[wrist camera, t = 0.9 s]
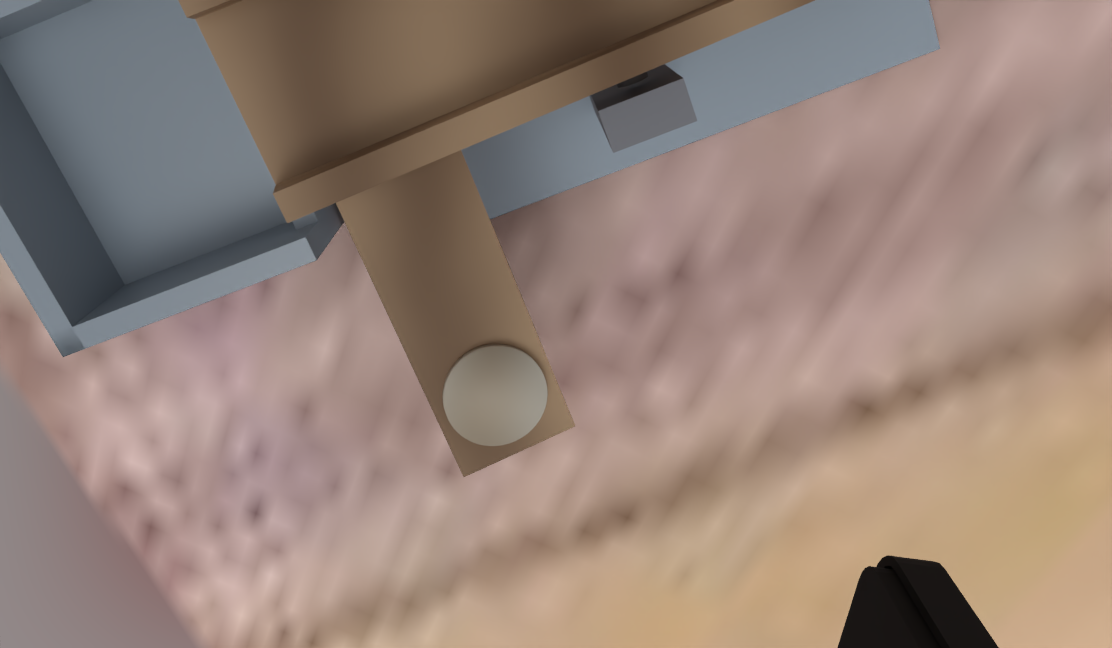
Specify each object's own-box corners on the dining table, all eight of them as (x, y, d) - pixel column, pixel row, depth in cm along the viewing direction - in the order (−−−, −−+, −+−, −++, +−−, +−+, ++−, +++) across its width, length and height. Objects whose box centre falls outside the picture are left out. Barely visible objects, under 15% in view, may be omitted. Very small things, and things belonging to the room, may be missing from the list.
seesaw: (878, -301, 27) (943, -342, 24) (997, 218, 32) (1062, 235, 29) (177, -27, 25) (158, -37, 22) (422, 480, 30) (433, 525, 27)
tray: (206, -75, 32) (152, -81, 28) (344, 221, 36) (316, 260, 31) (-36, 28, 33) (-128, 38, 29) (122, 306, 37) (63, 357, 32)
